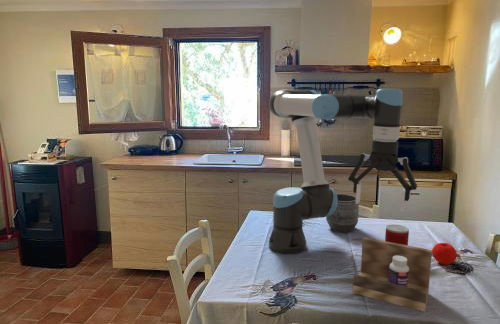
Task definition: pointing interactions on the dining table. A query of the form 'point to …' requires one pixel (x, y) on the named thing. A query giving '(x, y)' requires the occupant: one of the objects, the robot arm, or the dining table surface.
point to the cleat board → (377, 273)
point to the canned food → (397, 234)
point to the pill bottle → (399, 271)
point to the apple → (444, 253)
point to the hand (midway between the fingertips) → (379, 206)
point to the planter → (344, 214)
